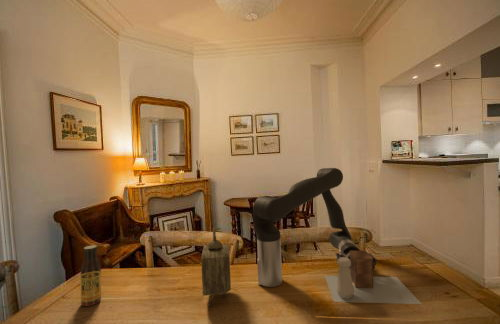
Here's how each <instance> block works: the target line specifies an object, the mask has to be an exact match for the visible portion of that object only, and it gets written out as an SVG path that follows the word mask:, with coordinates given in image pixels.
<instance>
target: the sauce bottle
mask: <svg viewBox="0 0 500 324" xmlns="http://www.w3.org/2000/svg"><path fill="white" fill-rule="evenodd" d="M97 251H98V245H96V244H95V245H94V244H93V245H86V246H84V247H83V253H84V258H83V259H84V260H83V262H82V263H81V266H80V274H79V275H80V278H79V279H80V304H81V306H83V307H91V306H94V305H96V304H98V303H99V302H100V301H101V299H102V271H101V266H102V265H101V262H100V261H99V260H98V256H97V255H98V253H97Z"/></svg>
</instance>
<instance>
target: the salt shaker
mask: <svg viewBox="0 0 500 324" xmlns="http://www.w3.org/2000/svg"><path fill="white" fill-rule="evenodd" d="M337 265H338V267H339V268H338V275H337V276H338V280H337V286H336V290H337V292H338V295H339V296H340V297H341V298H342V299H348V300H349V299H350V298H352V296H353V294H354V287H353V282H352V278H351V273H350V269H349V267H350V266H351V261H350V259H348V258H346V257H340V258H339V259H338V262H337Z"/></svg>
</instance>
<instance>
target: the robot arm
mask: <svg viewBox="0 0 500 324" xmlns="http://www.w3.org/2000/svg"><path fill="white" fill-rule="evenodd" d="M343 180H344V173H343V172H342V171H341V170H340V169H339V168H336V167H326V168H325V167H324V168H323V167H322V168H320V169H318V170H317V173H316V176H315V177H310V178H305V179H302V180H301V181H298V182H296V183H295V184H293V185H291V187H289V190H288V193H286V194H284V195H282V196H279V197H270V196H259V197H257V198H256V199H255V201H254V202H253V207H252V215H253V216H252V219H253V228H254V232H255V235H256V244H257V247H256V249H257V261H256V262H257V264H256V265H257V285H258V284H259V285H258V286H264V287H267V288H275V287H279V286H280V285H281V284H282V283H283V267H282V266H283V264H282V243H281V242H282V241H281V231H280V229H278V227H277V226H276V225H275V224H274V223H276V222H277V223H278V221H281V220H282V219H283V218H285V217H286V216H287V215H288V214H290V213H291V212H293V211H294V210H296V209H298V208H299V207H300V206H302V205H304V204H306V203H308V202H310V201H311V200H313V199H314V198H316V197H318V196H322V199H323V201H324V203H325V207H326V210H327V214H328V215H327V216H328V219H329V226H330V227H331V228H332V229H338V230H337V231H333V232H331V233H330V234H329V236H328V239H329V243H330V244H331V246H332V247H333V248H335V249H337V250H338V251H339V252H336V255H335V257H336V258H335V259H336V262H337V263H338V259H339V258H340V257H346V258H348V259H350V251H361V249H360V248H359V247H358V246H357V245H356V244H355V243H354V241H352V240H353V237H352V234H351V233H350V231H349V229H348V227H347V226H346V225H347V224H346V222H345V217H344V213H343V209H342V207H341V205H340V203H338V200H336V198H335V197H334V195H333V194H332V191H331V190H332V189H334V188H337V187H339V186H340V185H341V184H342V183H343ZM368 253H369V252H368ZM369 255H370V256H371V257H372V259H373V271H374V270H375V269H376V266H377V258H376V257H375V256H374V255H373V254H372V253H369ZM349 269H350V267H349Z"/></svg>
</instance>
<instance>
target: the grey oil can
mask: <svg viewBox="0 0 500 324" xmlns="http://www.w3.org/2000/svg"><path fill="white" fill-rule="evenodd" d="M231 283H232V282H231V259H230V245H228V244H225V243H222V242H221V241H220V240H218V239H217V234H216V227H215V226H213V228H212V240H211V241H209V243H208V244H207V245H203V248H202V252H201V286H202V295H203V296H210V299H209V301H208V302H207V303H206V306H207V308H211V307H212V306H213V303H212V301H213V299H214V296H215V295H221V297H222V298H225V297H226V296H227V293H229V292H230V291H231V289H232V286H231V285H232V284H231Z"/></svg>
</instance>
